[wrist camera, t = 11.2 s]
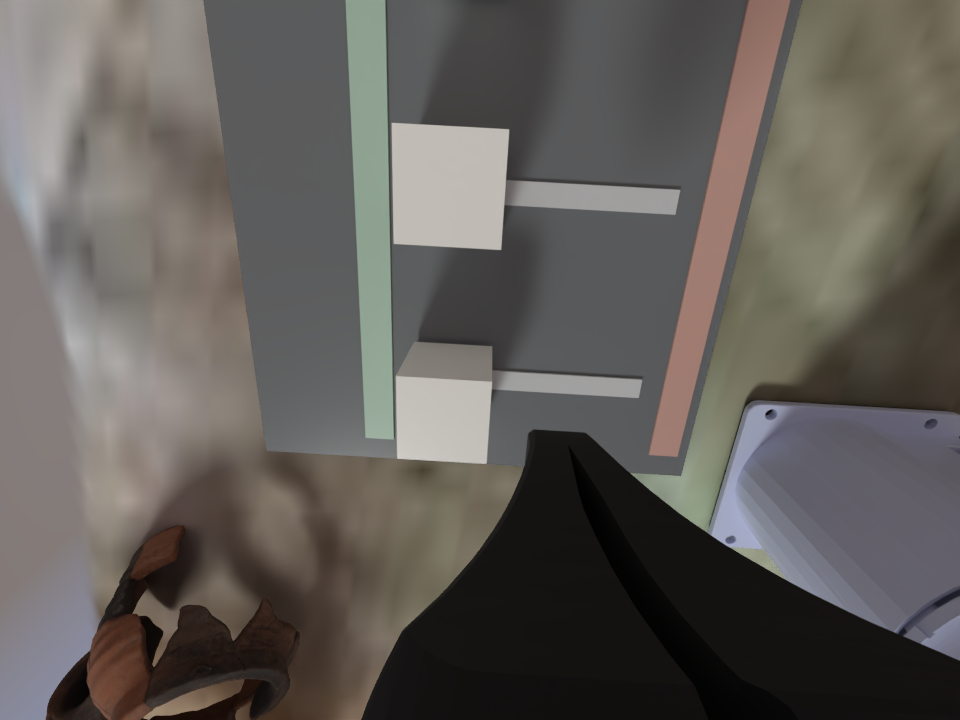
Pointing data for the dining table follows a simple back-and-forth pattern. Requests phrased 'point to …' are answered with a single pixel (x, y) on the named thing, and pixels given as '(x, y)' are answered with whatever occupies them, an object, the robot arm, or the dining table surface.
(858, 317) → the dining table surface
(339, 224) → the panel
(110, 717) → the pottery mug
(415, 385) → the block
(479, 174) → the block
